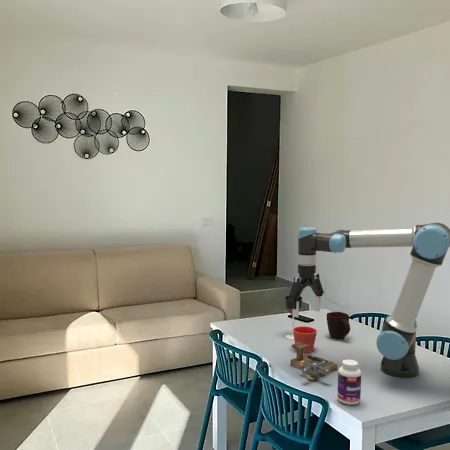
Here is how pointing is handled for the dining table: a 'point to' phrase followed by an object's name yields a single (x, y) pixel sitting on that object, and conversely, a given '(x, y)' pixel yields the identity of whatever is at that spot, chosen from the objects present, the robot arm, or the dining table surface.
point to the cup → (338, 325)
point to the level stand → (309, 358)
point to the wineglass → (290, 310)
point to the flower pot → (305, 337)
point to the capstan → (314, 369)
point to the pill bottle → (349, 383)
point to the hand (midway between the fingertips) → (306, 313)
